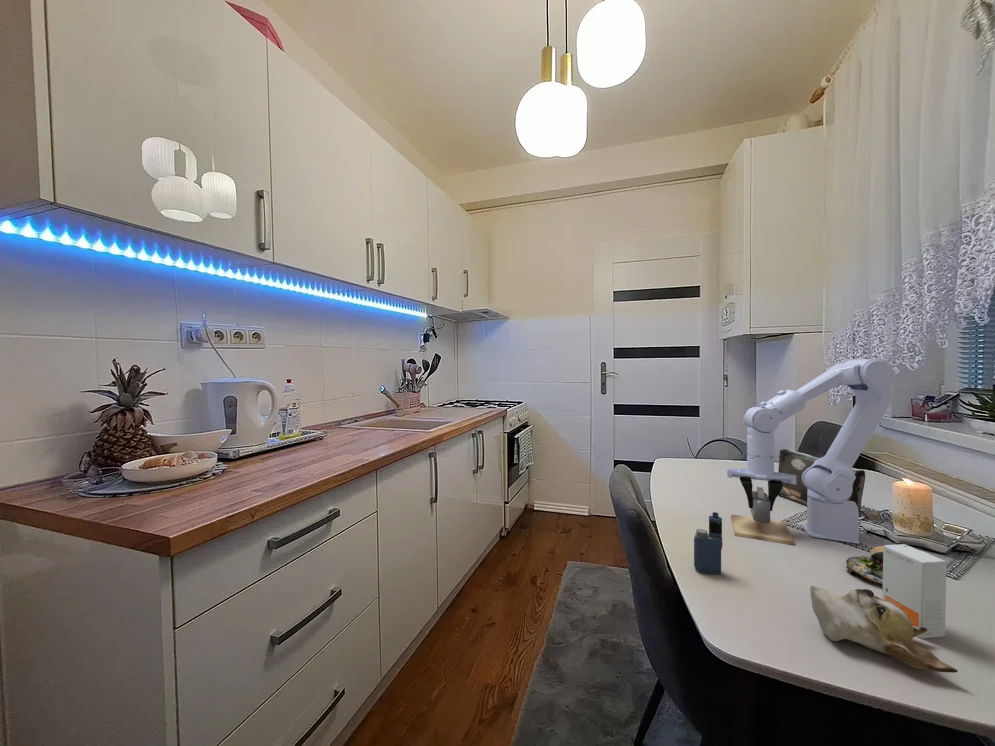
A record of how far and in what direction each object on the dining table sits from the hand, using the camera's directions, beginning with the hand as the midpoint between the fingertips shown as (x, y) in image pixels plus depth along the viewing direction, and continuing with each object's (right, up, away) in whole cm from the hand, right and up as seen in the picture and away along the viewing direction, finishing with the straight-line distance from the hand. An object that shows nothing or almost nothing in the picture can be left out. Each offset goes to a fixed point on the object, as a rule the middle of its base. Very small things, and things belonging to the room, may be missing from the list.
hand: (760, 508), depth 101 cm
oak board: (0, -6, 0) cm, 6 cm away
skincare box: (0, -7, -37) cm, 38 cm away
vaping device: (-23, -6, -19) cm, 31 cm away
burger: (+10, -6, -23) cm, 26 cm away
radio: (+29, -5, +17) cm, 34 cm away
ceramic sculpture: (-10, -7, -41) cm, 43 cm away
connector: (0, -2, 0) cm, 2 cm away
